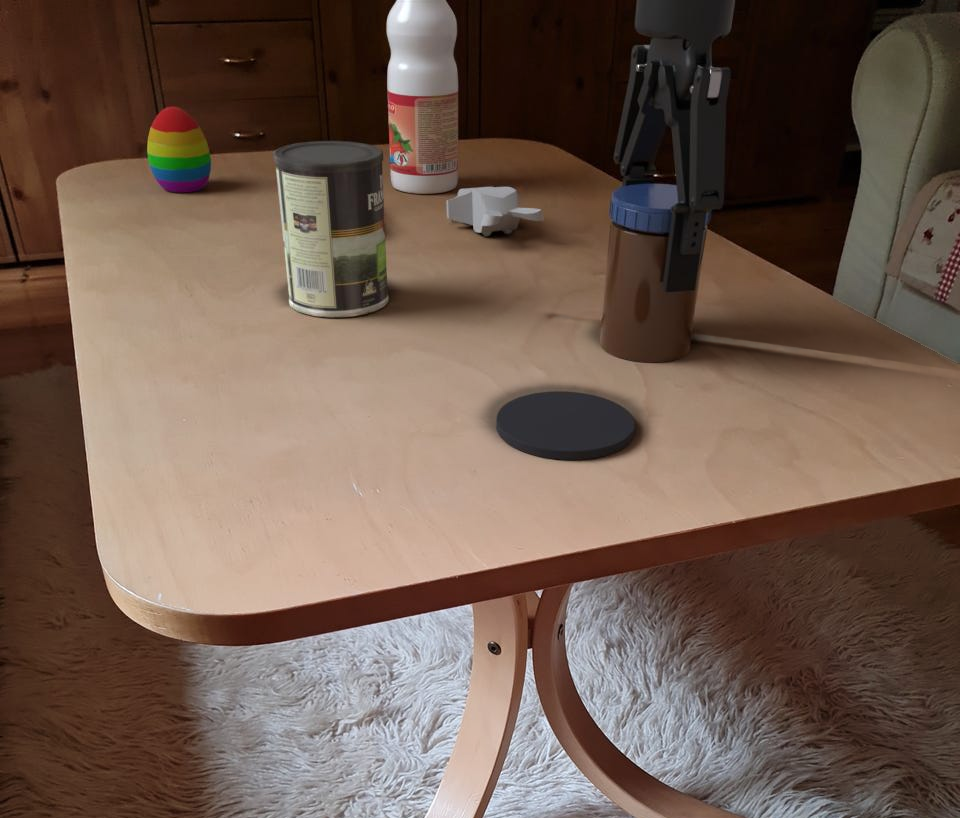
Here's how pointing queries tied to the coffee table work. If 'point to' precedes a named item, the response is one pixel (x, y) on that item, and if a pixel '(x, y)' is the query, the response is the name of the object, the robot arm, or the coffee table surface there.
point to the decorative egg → (178, 152)
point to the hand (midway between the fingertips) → (653, 270)
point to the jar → (644, 299)
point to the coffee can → (333, 227)
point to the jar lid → (645, 207)
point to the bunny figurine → (490, 209)
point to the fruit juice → (422, 96)
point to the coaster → (565, 425)
